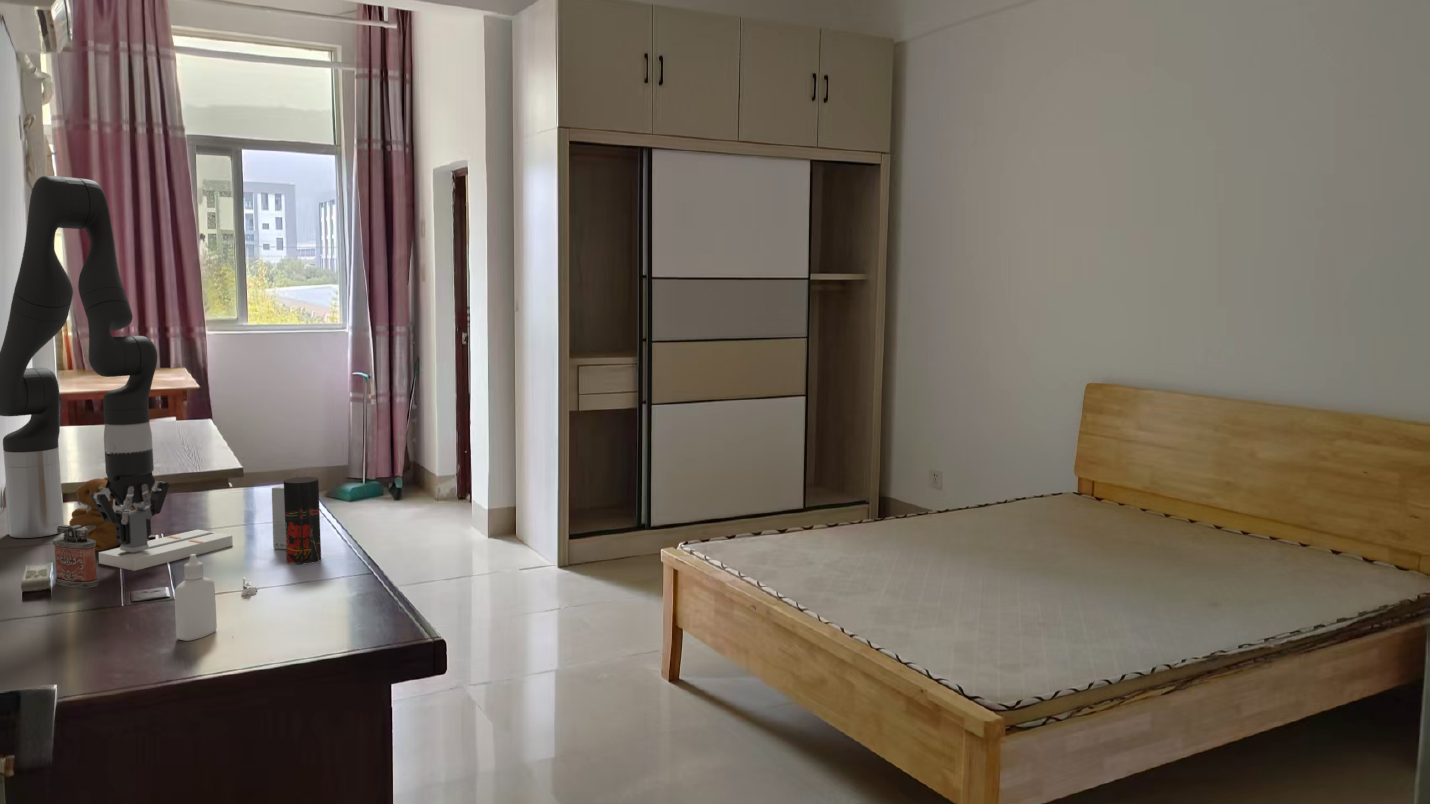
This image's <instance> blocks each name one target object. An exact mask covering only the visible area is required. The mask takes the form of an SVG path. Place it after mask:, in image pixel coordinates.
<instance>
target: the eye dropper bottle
mask: <svg viewBox="0 0 1430 804" xmlns="http://www.w3.org/2000/svg"><path fill="white" fill-rule="evenodd" d="M183 566H184V567H183V571H184V580H182V581H181V582H180V583H178V585H177V586H176V587H175V589H174V595H173V596H174V614H175V615H174V617H175V620H174V621H175V635H176V636H175V637H176V639H177V640H179V641H185V642H190V641H195V640H199V639H201V638H205V637H207V636H210V635H212V634H213V633H214V632H215V631H217V628H218V627H217V625H218V624H217V605H216V604H217V603H216V588H215V587H216V586H215V581H214V579H212V578H209V577H204V563H203V561H199V560H198V557H197V555H196V554H191V555H190V557H189V561H188V562H186V563H184V565H183Z"/></svg>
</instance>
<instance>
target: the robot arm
mask: <svg viewBox="0 0 1430 804" xmlns="http://www.w3.org/2000/svg"><path fill="white" fill-rule="evenodd" d="M112 227H113V226H112V221H111V213H110V209H109V205H108V200H107V197H106V194H105V192H104V190H103V188H102V186H101V184H99V183H98V182H97V181H95V180H92V179H88V178H80V177H69V176H68V177H67V176H58V175H57V176H56V175H43V176H40V177H39V178H37V179H36V181H35V182H34V184H33V187H32V190H31V194H30V199H29V205H28V213H27V224H26V232H25V238H24V239H25V240H24V248H23V254H22V258H21V261H20V266H19V271H18V275H17V280H16V282H15V286H14V290H13V295H12V300H11V304H10V310H9V317H8V320H7V326H6V331H5V334H4V340H3V342H2V346H1V348H0V417H21V416H30V419H29V420H28V422H27V423H26V424H24V425H23V426H21V427H20V428H18V429H16V430H15V431H12V432H10V433H7V434H6V435H4V437H3V438H2V448H3V449H2V450H3V461H4V462H3V464H4V475H5V476H4V477H5V478H4V479H5V487H4V493H5V495H4V496H5V509H6V510H5V511H6V523H7V524H6V525H7V533H8V534H9V535H8V536H9V537H10V538H16V539H17V538H18V539H27V538H28V539H30V538H32V539H33V538H41V537H49V536H52V535H56V534H58V533H57V527H58V525H65V524H64V510H63V496H62V495H63V494H62V478H61V466H60V465H61V463H60V462H61V461H60V448H59V438H60V433H61V431H60V430H61V429H60V428H61V427H60V425H61V423H60V387H59V383H58V379H57V376H56V375H55V372H54V371H52V370H51V369H49V368H47V367H31V368H30V367H29V368H27V367H28V365H29V363H30V361H31V360H32V359H33V357H35V355H36V354H37V353H38V352H39V351H40V350H41V349H42V348H43V347H44V346H45V345H46V344H47V343H48V342H50V341H51V340H52V339H53V338H54V337H55V336H56V335H57V334H58V333H59V332H60V330H62V328H63V327H64V326H65V324H66V322H67V321H68V316H69V313H70V308H71V304H72V301H73V295H74V288H73V285H72V284H73V283H72V282H71V280H70V278H69V276H68V274H67V272H66V271H65V269H64V267H63V265H62V263H61V261H60V259H59V258H58V255H57V254H56V251H55V236H56V232H57V230H58V229H70V230H71V229H73V230H85V231H86V233H87V236H88V240H89V251H88V254H87V256H86V259H85V261H84V263H83V266H82V268H81V271H80V273H79V277H78V283H77V285H78V288H77V289H78V294H79V297H80V301H81V304H82V307H83V309H84V312H85V316H86V319H87V325H88V362H89V365H90V367H91V368H92V370H93V372H95V373H96V374H98V375H99V376H100V377H103V378H112V377H115V378H116V377H128V376H129V377H128V379H127V381H126V382H125V385H124V386H122V387H119V388H116V389H111V390H110V391H109V390H108V392H106V393H105V394H104V396H103V399H102V400H103V404H102V405H103V418H104V419H103V421H104V422H103V423H104V431H103V447H104V463H105V474H106V477H108V481H107V483H106V486H105V489H103V490H102V491H100V492H99V493H93V494H92V495H91V498H92V500H93V502H94V504H95V506H96V507H97V509H98V511H99V513H100V515H101V517H102V519H103V520H104V521H105V522H111V523H114V524H115V529H116V540H117V541H119V543H120V545H121V544H124V545H126V544H129V543H130V535H129V524H127V522H128V516H129V511H131V506H132V504H133V506H134V507H135V508H136V510H137V511H142V512H146V528H147V541H149V539H150V536H151V535H152V530H151V529H152V526H151V524H152V523H151V520H152V518H153V516H155V515H159V514H160V513H161V512H162V509H163V505H164V502H165V500H166V497H167V493H168V491H169V487H170V484H169V482H165V481H159V480H156V478H155V477H154V475H153V471H154V469H155V467H154V449H153V433H152V429H151V423H150V405H149V400H150V393H151V388H152V384H153V379H154V376H155V372H156V369H157V364H158V351H157V348H156V345H155V344H154V342H153V341H152V340H151V339H150V338H148V337H146V336H144V335H128V336H125V335H124V336H112V332H115V331H119V330H123V329H124V328H126V327H128V326H130V324H131V323H132V321H133V318H134V317H133V312H132V309H131V305H130V303H129V300H128V297H127V294H126V291H125V287H124V286H123V282H122V278H121V275H120V271H119V270H120V269H119V266H118V259H117V254H116V253H117V252H116V246H115V238H114V233H113V232H114V231H113V228H112ZM150 493H151V495H150ZM109 495H111V496H112V497H113V498H114V500H113V508H112V506H111V504H110V502H109V501H110V500H111V499H110V497H109ZM122 504H123V506H122Z"/></svg>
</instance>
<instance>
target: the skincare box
mask: <svg viewBox="0 0 1430 804" xmlns="http://www.w3.org/2000/svg"><path fill="white" fill-rule="evenodd" d="M271 505H272V506H271V507H272V513H271V514H272V545H273V546H272V547H273V549H275V550H276V549H277V550H286V531H285V505H284V483H282V484H279V485H277V486H274V487H272V488H271Z"/></svg>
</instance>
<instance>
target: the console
mask: <svg viewBox="0 0 1430 804" xmlns="http://www.w3.org/2000/svg"><path fill="white" fill-rule="evenodd" d="M233 541H234V540H233V535H230V534H225V533H220V532H215V531H209V530H204V529H203V530H202V529H194V530H190V531H185V532H181V533H176V534H172V535H167V536H163V537H159V538H156V539H155V538H154V539H151V540H147V544H148V546H149V549H146V550H142V551H138V552H133V553H132V552H127V551H122V550H120V547H115V548H111V549H107V550H102V551H98V563H99V564H101V565H105V566H109V567H110V566H111V567H113V568H121V569H124V570H128V571H133V572H135V571H139V570H143V569H146V568H151V567H154V566H159V565H162V564H167V563H170V562H174V561H178V560H181V559H186V558H190V555H191V554H196V556H198V555H201V554H205V553H208V552H213V551H217V550H221V549H225V548H230V547H233V546H234V543H233Z"/></svg>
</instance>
